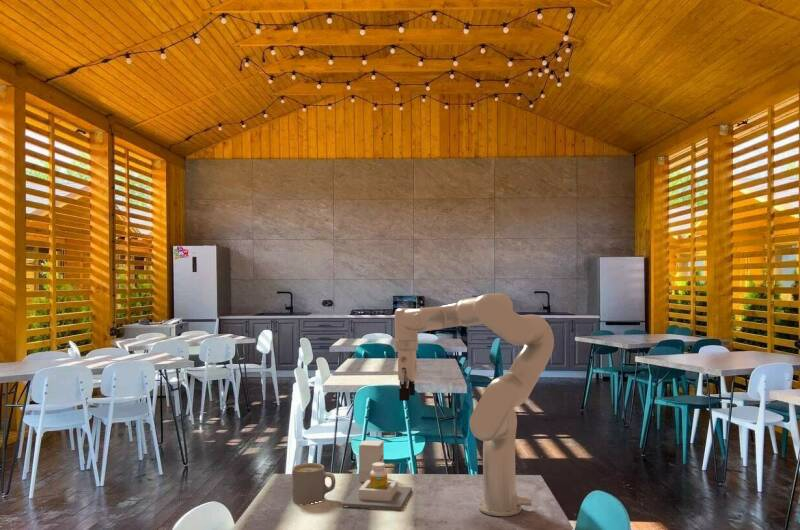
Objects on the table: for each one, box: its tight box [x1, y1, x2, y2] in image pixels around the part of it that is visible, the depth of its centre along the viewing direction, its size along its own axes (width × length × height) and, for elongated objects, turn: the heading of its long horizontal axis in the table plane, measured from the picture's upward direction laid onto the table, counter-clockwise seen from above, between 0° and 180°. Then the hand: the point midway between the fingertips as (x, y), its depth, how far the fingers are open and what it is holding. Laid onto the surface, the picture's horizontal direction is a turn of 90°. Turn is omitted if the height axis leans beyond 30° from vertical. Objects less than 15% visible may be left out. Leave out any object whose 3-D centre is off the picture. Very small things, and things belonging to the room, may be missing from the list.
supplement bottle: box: [370, 462, 388, 490], centre depth 197 cm, size 5×5×10 cm
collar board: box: [342, 480, 413, 512], centre depth 197 cm, size 18×18×4 cm
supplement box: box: [358, 439, 385, 483], centre depth 217 cm, size 7×7×13 cm
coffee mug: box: [292, 462, 336, 506], centre depth 197 cm, size 13×10×10 cm
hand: (407, 397), depth 205 cm, fingers open, 9 cm apart
